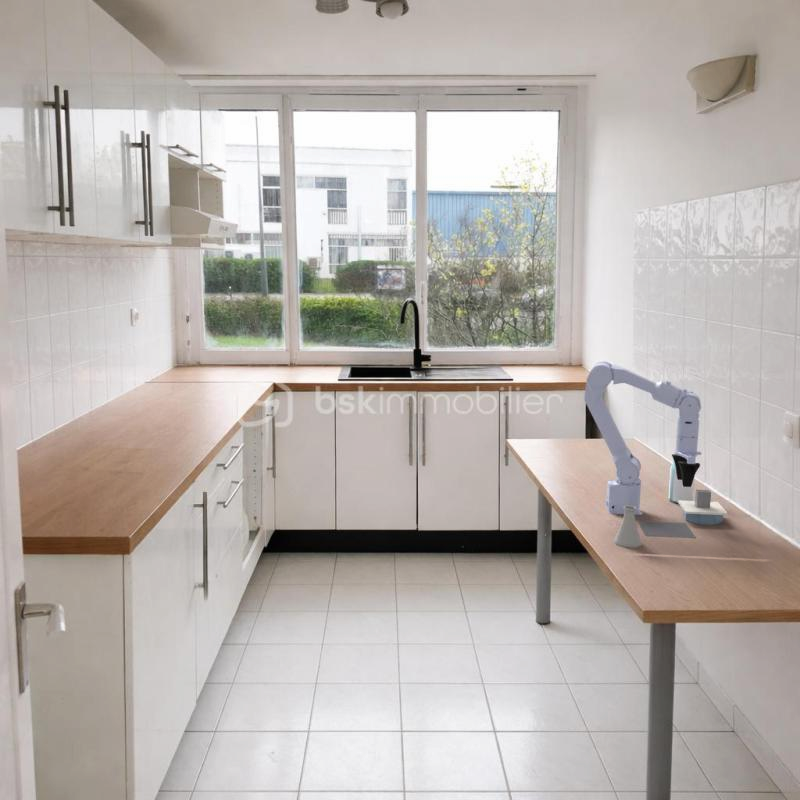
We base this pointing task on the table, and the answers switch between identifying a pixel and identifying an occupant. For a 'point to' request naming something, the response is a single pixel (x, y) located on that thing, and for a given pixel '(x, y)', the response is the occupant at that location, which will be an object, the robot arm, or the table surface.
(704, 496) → the lid
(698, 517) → the bowl
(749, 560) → the table surface
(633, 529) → the flask
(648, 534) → the mat
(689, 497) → the can
